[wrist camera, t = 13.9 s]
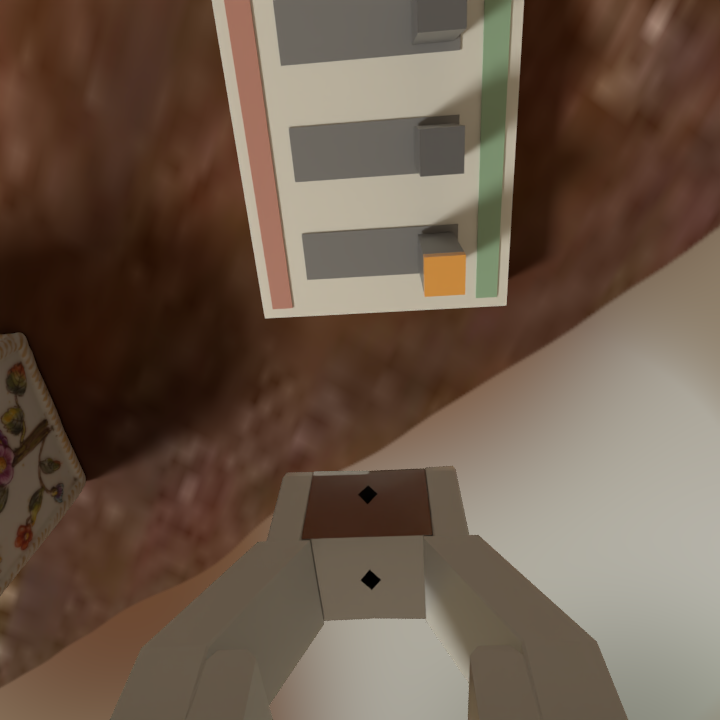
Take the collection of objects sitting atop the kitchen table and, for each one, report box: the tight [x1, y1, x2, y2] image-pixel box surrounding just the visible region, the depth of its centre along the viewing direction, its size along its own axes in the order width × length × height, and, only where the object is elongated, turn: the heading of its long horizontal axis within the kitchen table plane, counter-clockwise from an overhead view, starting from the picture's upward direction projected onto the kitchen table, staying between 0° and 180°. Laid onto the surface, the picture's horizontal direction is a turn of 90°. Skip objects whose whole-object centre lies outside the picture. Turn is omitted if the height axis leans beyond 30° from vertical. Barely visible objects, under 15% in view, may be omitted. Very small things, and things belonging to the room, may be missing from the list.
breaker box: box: [212, 0, 524, 318], centre depth 22 cm, size 15×12×7 cm
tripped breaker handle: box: [418, 232, 466, 297], centre depth 22 cm, size 2×2×4 cm
